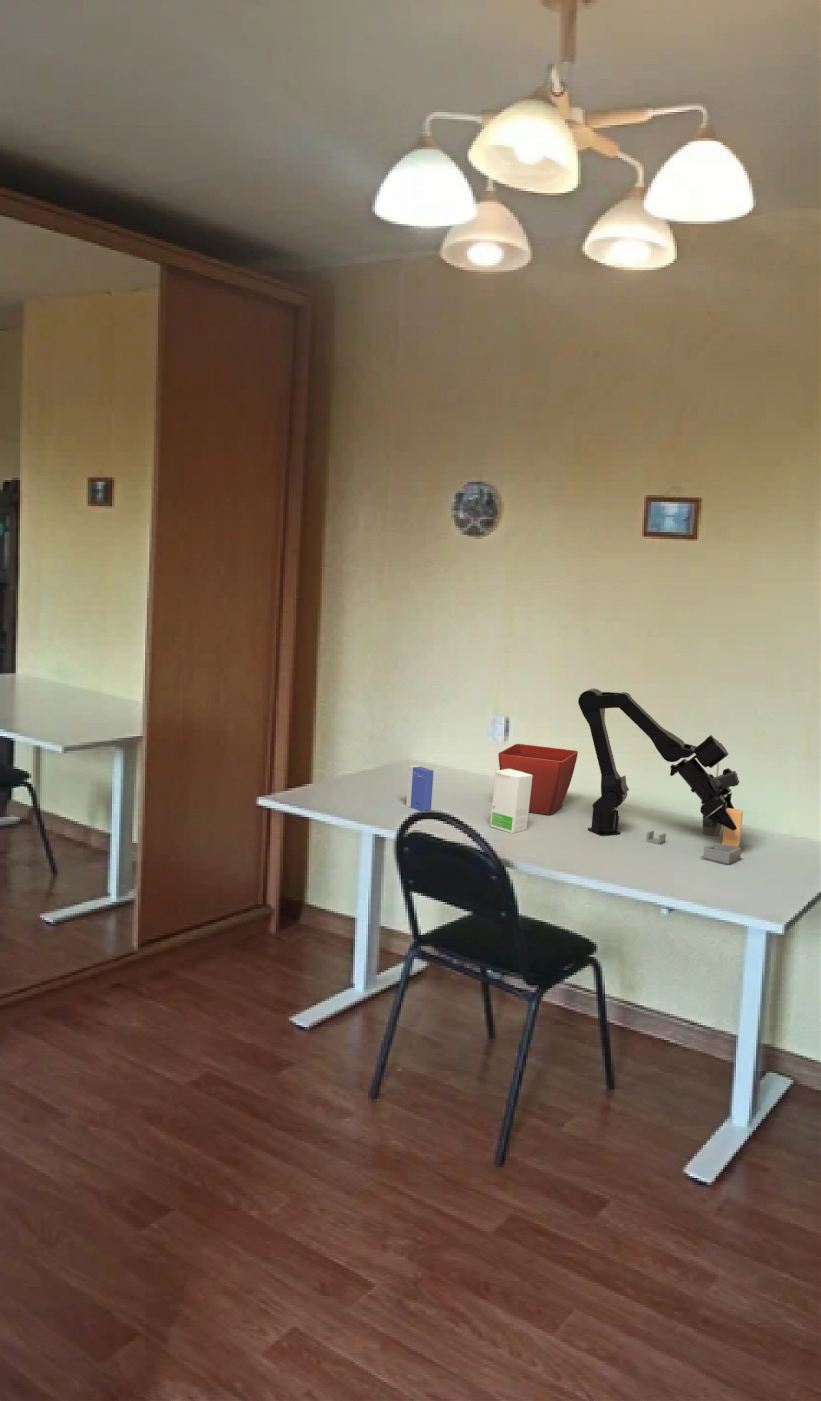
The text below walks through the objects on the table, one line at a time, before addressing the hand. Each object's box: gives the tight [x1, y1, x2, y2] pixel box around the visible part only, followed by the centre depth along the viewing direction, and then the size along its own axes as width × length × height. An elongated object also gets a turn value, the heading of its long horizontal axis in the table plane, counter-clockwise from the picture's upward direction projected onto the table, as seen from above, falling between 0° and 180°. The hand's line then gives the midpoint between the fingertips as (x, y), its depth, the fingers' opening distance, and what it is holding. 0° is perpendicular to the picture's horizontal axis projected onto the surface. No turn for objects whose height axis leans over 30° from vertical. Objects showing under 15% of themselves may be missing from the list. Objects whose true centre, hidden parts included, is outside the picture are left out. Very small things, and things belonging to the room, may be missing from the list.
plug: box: [721, 808, 744, 848], centre depth 292 cm, size 4×4×11 cm
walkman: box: [405, 764, 434, 812], centre depth 318 cm, size 8×3×12 cm, turn 39°
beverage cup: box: [702, 762, 730, 837], centre depth 309 cm, size 7×7×20 cm
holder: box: [700, 842, 742, 866], centre depth 285 cm, size 7×7×3 cm
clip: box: [645, 830, 667, 845], centre depth 298 cm, size 3×4×2 cm
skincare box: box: [489, 769, 533, 834], centre depth 301 cm, size 8×7×16 cm
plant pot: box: [497, 743, 579, 816], centre depth 326 cm, size 19×19×17 cm
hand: (737, 825), depth 291 cm, fingers open, 9 cm apart
